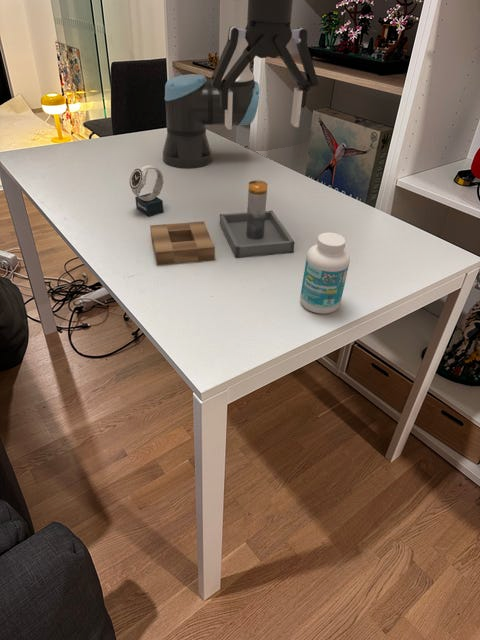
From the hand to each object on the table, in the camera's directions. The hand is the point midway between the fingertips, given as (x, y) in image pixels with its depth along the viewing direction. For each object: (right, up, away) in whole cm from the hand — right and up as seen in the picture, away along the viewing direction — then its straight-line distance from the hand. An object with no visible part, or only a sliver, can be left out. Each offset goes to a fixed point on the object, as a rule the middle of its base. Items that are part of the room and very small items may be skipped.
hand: (261, 126), depth 90 cm
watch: (-27, -11, +24) cm, 37 cm away
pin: (-1, -19, +14) cm, 24 cm away
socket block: (-17, -22, +10) cm, 30 cm away
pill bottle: (+11, -35, -5) cm, 37 cm away
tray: (-1, -19, +15) cm, 24 cm away
